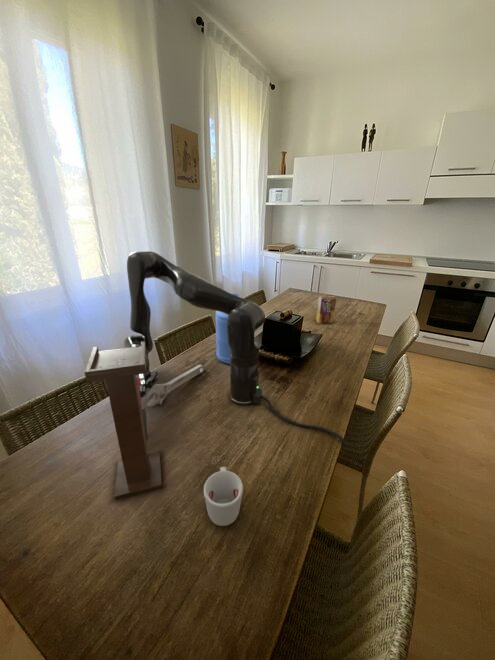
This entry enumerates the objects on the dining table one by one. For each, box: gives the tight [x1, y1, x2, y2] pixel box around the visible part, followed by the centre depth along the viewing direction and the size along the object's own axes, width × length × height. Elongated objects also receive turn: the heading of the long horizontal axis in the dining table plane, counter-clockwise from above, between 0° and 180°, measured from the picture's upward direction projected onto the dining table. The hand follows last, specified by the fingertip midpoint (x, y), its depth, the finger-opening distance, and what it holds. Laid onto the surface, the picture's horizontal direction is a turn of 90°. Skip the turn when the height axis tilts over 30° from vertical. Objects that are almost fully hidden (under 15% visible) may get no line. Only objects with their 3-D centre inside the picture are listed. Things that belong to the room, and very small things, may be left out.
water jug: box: [215, 293, 240, 365], centre depth 117 cm, size 16×16×28 cm
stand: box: [83, 342, 163, 500], centre depth 61 cm, size 10×10×33 cm
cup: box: [203, 466, 244, 527], centre depth 60 cm, size 11×8×8 cm
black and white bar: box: [137, 379, 149, 441], centre depth 79 cm, size 18×4×3 cm
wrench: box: [142, 364, 205, 407], centre depth 99 cm, size 8×2×30 cm
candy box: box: [315, 295, 337, 324], centre depth 161 cm, size 9×4×15 cm, turn 99°
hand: (136, 395), depth 80 cm, fingers closed on black and white bar, 2 cm apart
